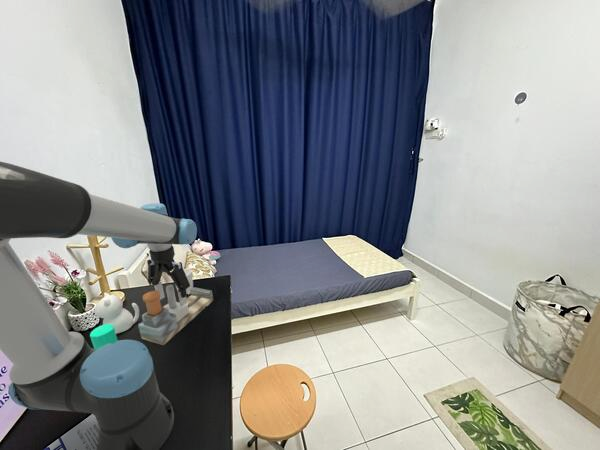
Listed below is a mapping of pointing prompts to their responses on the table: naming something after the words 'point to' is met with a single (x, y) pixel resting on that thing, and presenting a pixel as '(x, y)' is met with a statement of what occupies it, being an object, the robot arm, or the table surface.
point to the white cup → (190, 279)
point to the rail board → (185, 319)
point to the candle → (103, 335)
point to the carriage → (175, 305)
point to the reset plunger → (152, 302)
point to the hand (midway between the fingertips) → (172, 301)
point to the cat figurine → (115, 313)
